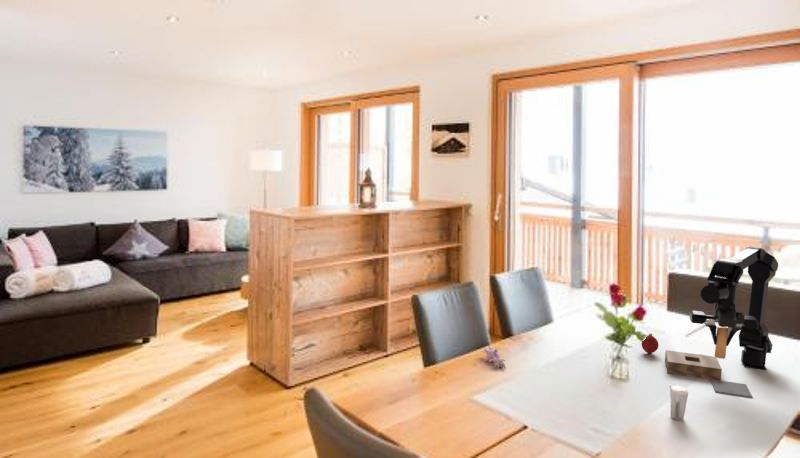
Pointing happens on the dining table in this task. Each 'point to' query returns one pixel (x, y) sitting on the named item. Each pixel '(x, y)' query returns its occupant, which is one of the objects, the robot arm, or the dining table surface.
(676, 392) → the milkshake
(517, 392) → the dining table surface
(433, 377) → the dining table surface
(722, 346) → the peg
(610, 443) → the dining table surface
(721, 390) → the mat
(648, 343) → the onion
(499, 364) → the rabbit figure
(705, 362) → the hole block
